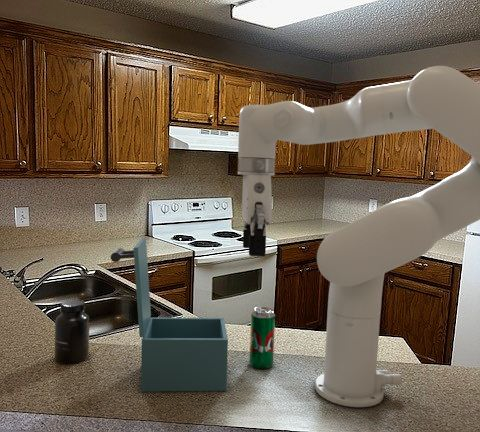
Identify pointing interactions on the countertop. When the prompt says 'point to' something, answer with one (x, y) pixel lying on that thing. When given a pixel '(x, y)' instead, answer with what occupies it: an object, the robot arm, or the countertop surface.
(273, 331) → the soda can
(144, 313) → the teal box lid
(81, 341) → the supplement bottle
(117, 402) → the countertop surface
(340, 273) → the robot arm
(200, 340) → the teal box
